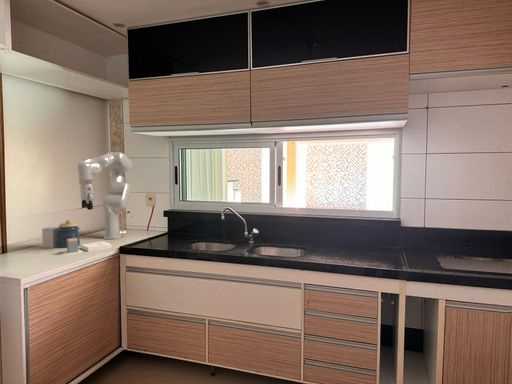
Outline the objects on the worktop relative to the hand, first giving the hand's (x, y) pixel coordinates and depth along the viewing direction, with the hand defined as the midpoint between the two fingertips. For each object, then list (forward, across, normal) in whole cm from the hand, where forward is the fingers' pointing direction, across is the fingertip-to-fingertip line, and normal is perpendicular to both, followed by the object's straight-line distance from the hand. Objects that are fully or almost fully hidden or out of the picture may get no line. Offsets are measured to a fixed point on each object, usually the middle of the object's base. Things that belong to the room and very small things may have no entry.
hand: (87, 208), depth 223 cm
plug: (+24, -10, +13) cm, 29 cm away
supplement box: (+26, +18, +18) cm, 36 cm away
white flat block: (+25, -10, -1) cm, 27 cm away
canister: (+26, +10, +10) cm, 29 cm away
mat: (+24, -10, +13) cm, 30 cm away
